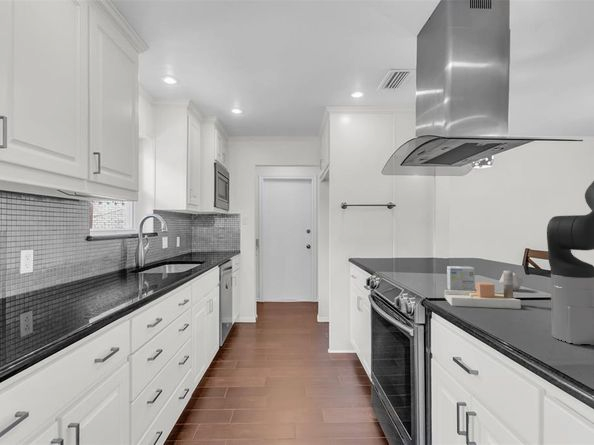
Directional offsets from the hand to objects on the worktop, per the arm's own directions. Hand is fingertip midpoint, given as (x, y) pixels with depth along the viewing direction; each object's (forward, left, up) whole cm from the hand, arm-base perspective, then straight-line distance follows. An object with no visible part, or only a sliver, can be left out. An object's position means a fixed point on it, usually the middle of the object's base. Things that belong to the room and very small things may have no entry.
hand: (553, 236), depth 116 cm
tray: (+6, +23, -26) cm, 35 cm away
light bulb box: (+30, +24, -26) cm, 47 cm away
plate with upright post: (+6, +18, -24) cm, 31 cm away
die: (+34, +2, -26) cm, 43 cm away
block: (+6, +21, -23) cm, 32 cm away
